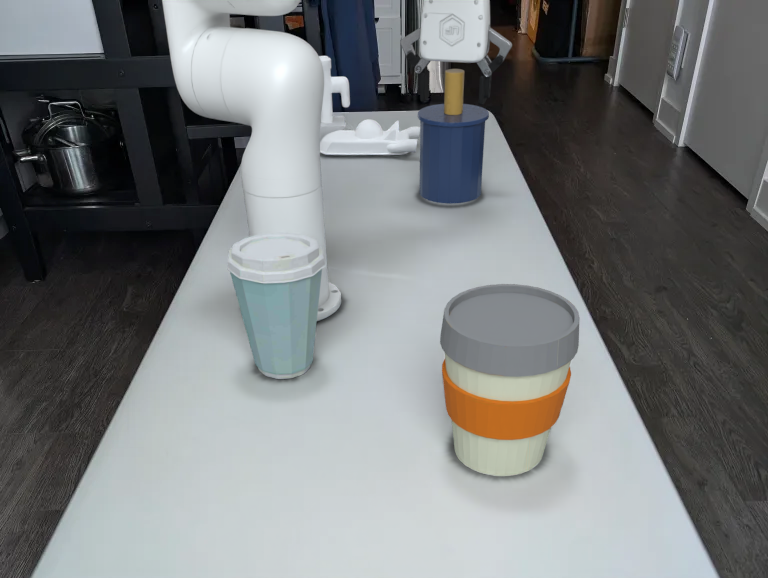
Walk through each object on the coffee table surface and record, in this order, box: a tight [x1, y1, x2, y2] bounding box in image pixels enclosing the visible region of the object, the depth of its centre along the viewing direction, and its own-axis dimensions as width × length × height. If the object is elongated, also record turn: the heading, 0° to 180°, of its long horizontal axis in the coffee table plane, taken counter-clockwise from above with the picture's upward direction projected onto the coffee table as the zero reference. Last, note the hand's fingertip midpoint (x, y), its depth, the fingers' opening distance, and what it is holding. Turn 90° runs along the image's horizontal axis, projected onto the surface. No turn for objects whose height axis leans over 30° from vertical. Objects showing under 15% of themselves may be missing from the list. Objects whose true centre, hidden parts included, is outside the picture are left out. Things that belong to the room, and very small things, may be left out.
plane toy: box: [320, 118, 420, 156], centre depth 154 cm, size 10×20×6 cm, turn 84°
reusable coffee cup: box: [439, 283, 580, 477], centre depth 76 cm, size 13×12×15 cm
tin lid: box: [417, 68, 490, 127], centre depth 126 cm, size 11×11×7 cm
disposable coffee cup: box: [226, 232, 325, 380], centre depth 89 cm, size 11×11×15 cm
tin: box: [419, 120, 486, 205], centre depth 132 cm, size 10×10×12 cm
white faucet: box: [318, 55, 351, 142], centre depth 156 cm, size 7×9×15 cm
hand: (453, 100), depth 127 cm, fingers open, 9 cm apart
